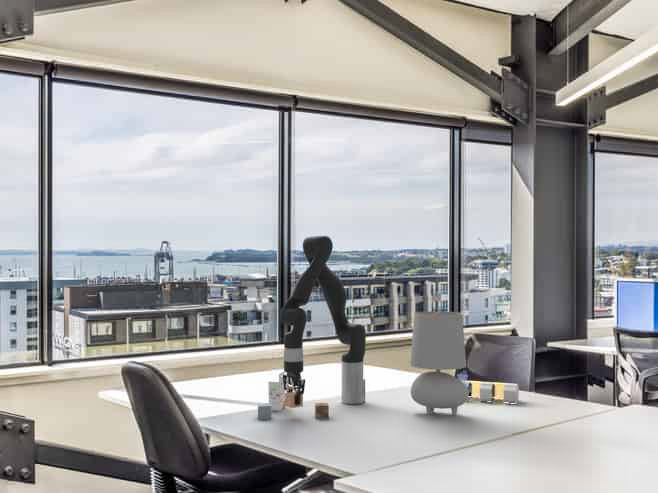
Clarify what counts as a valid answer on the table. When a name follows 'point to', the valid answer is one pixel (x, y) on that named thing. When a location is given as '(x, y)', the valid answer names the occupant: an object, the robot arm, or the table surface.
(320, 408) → the walnut block
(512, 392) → the diorama
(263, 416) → the slate block
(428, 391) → the table lamp
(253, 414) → the table surface
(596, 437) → the table surface
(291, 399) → the terracotta block
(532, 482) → the table surface
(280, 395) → the ink cartridge box
